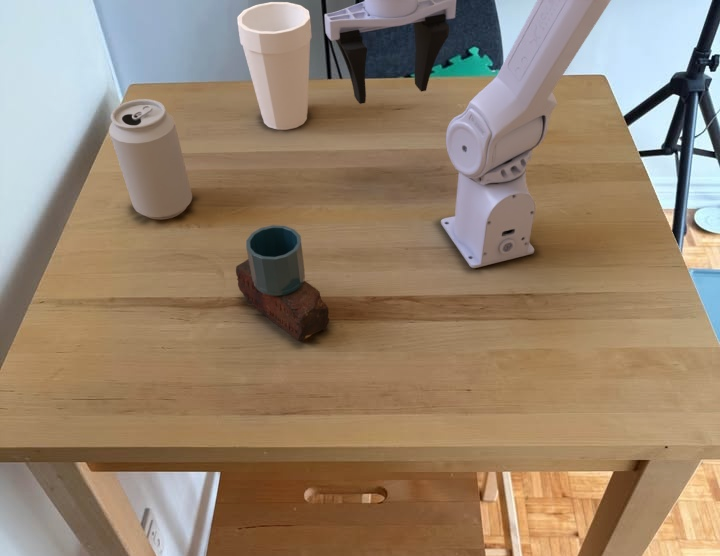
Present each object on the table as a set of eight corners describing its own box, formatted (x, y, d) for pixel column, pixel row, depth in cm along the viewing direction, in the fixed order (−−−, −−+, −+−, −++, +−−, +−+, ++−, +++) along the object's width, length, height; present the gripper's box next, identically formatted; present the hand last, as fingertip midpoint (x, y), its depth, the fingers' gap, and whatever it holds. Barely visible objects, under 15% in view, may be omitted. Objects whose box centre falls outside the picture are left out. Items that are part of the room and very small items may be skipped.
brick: (240, 300, 79) (232, 265, 75) (267, 283, 81) (261, 248, 77) (303, 347, 75) (299, 313, 71) (331, 328, 76) (328, 293, 72)
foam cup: (322, 102, 104) (314, 2, 93) (313, 136, 99) (304, 34, 88) (258, 101, 105) (244, 1, 94) (246, 134, 99) (229, 33, 89)
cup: (311, 288, 73) (308, 251, 69) (259, 301, 72) (253, 264, 68) (297, 257, 76) (293, 220, 72) (247, 269, 75) (240, 232, 71)
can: (123, 204, 90) (92, 110, 81) (174, 181, 93) (149, 87, 83) (153, 231, 87) (124, 135, 77) (205, 206, 90) (183, 111, 80)
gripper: (441, -66, 76) (434, 67, 88) (312, -45, 74) (322, 89, 85) (468, -43, 73) (457, 93, 84) (333, -20, 70) (340, 117, 81)
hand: (390, 93), depth 84 cm, fingers open, 7 cm apart
